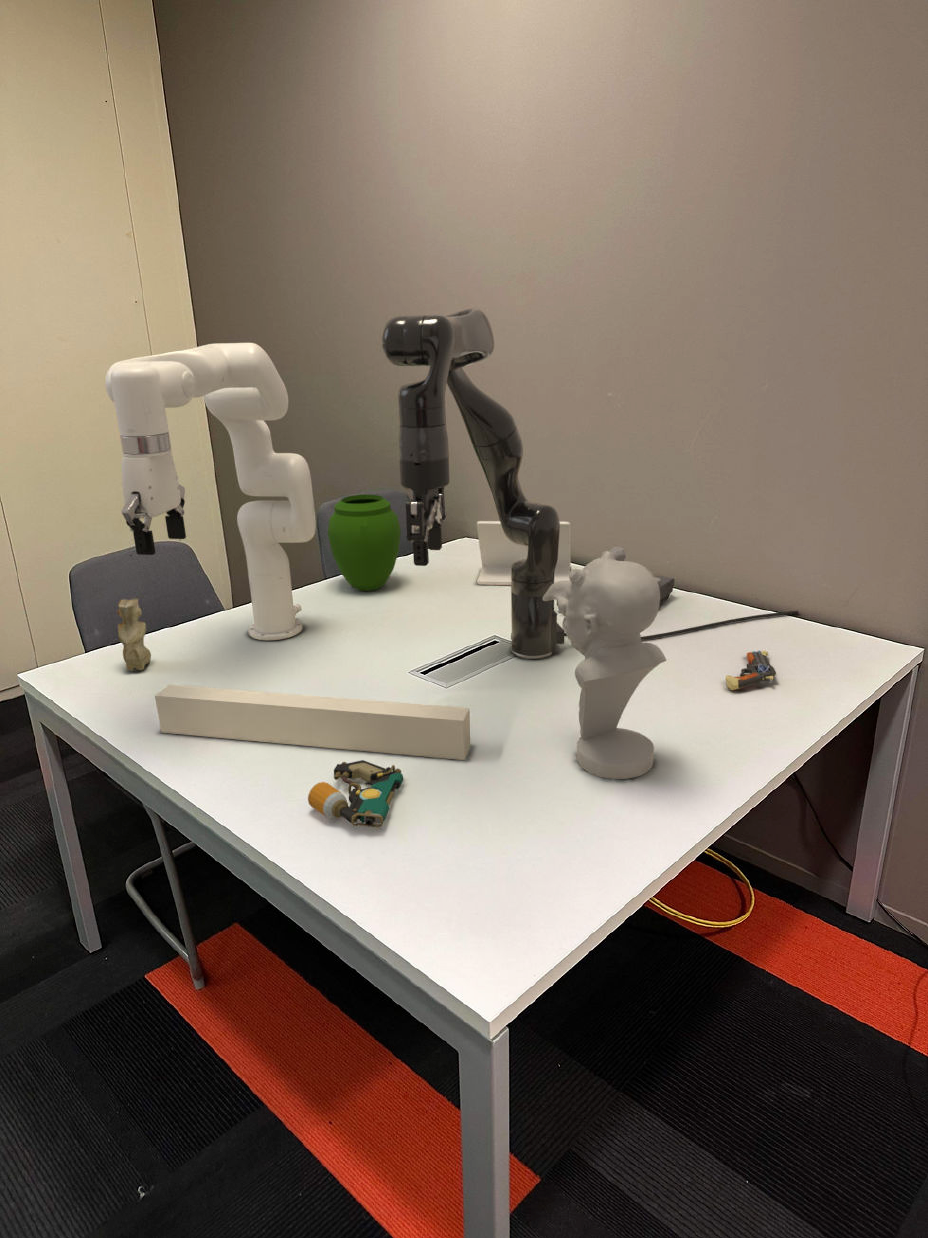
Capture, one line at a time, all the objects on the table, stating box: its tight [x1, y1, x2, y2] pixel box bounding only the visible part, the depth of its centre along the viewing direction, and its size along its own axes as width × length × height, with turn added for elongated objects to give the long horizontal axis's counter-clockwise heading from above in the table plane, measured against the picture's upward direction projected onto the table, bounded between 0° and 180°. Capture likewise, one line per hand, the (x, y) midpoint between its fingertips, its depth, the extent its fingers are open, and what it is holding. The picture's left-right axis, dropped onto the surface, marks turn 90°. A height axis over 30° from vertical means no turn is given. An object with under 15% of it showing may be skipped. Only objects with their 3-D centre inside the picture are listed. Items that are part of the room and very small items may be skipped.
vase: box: [327, 494, 402, 592], centre depth 229 cm, size 20×20×24 cm
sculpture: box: [116, 597, 152, 672], centre depth 183 cm, size 6×7×15 cm
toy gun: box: [725, 650, 778, 691], centre depth 173 cm, size 3×19×10 cm
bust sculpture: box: [543, 550, 667, 780], centre depth 141 cm, size 16×24×35 cm, turn 28°
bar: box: [154, 684, 472, 761], centre depth 152 cm, size 57×5×8 cm, turn 77°
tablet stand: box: [476, 520, 572, 586], centre depth 236 cm, size 18×25×17 cm
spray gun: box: [307, 759, 404, 829], centre depth 133 cm, size 4×17×15 cm
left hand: (162, 546), depth 145 cm, fingers open, 9 cm apart
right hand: (428, 557), depth 135 cm, fingers open, 8 cm apart
